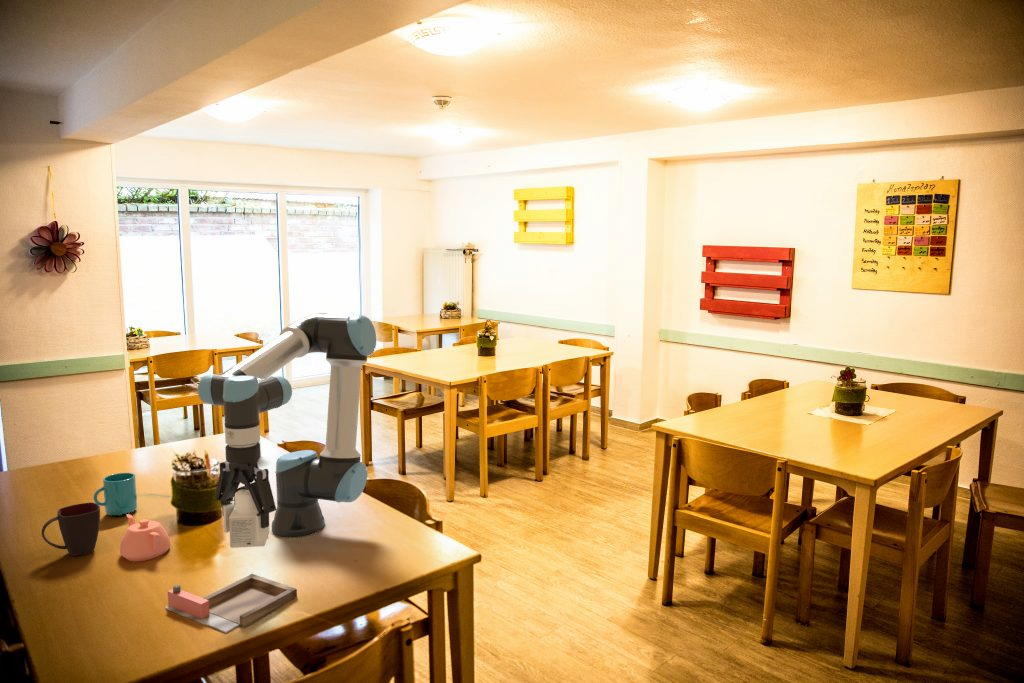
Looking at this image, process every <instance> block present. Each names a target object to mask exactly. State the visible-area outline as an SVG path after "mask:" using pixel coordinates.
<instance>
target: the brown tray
mask: <svg viewBox="0 0 1024 683" xmlns="http://www.w3.org/2000/svg"><path fill="white" fill-rule="evenodd" d="M297 597H298V589H297V588H295V587H292V586H289V585H287V584H284V583H281V582H277V581H274V580H271V579H268V578H266V577H263V576H260V575H257V574H254V573H251V574H249V575H247V576H245V577H243V578H240V579H239V580H237V581H234V582H233V583H230V584H228V585H226V586H224V587H223V588H220V589H218V590H216V591H215V592H212V593H210V594H208V595H206V596H204V597H203V598H204V599H206V600H209V613H210V615H208V616H206V617H205V618H203V619H201V618H199V617H196V616H194V615H191V614H189V613H186V612H184V611H181V610H179V609H176V608H174V607H171V606H169V605H167V606H165V607H164V609H165V610H167V611H170V612H172V613H175V614H177V615H179V616H182V617H184V618H187V619H190V620H192V621H194V622H198V623H199V624H202V625H204V626H207V627H209V628H211V629H214V630H217V631H219V632H221V633H224V634H227V633H229V632H231V631H232V630H235V629H237V628H238V627H241V628H243V629H245V628H247V627H249V626H251V625H253V624H254V623H256V622H258V621H260V620H262V619H263V618H265V617H266V616H269V615H271V614H272V613H273V612H275V611H277V610H279V609H280V608H282V607H283V606H284V605H286V604H288V603H289V602H291V601H292V600H294V599H296V598H297Z"/></svg>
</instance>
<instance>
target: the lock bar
mask: <svg viewBox="0 0 1024 683" xmlns="http://www.w3.org/2000/svg"><path fill="white" fill-rule="evenodd" d="M167 604H168V605H167V606H171V607H174V608H176V609H179V610H181V611H184V612H186V613H189V614H191V615H194V616H196V617H199V618H201V619H203V618H205V617H206V616H208V615H210V613H209V600H206V599H204V597H201V596H198V595H195V594H193V593H191V592H188V591H186V590H182V589H181V584H175V585H173V586H172V588H171V589H169V590H168V591H167Z"/></svg>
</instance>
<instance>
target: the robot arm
mask: <svg viewBox="0 0 1024 683" xmlns="http://www.w3.org/2000/svg"><path fill="white" fill-rule="evenodd" d="M376 346H377V333H376V328H375V326H374V324H373V322H372V320H371V319H370V318H369V317H367V316H366V315H361V314H355V313H328V312H327V313H326V312H324V313H322V312H319V313H314V314H310V315H308V316H305V317H303V318H300V319H298V320H297V321H294V322H293V323H291V324H289V325H287V326H286V327H284V328H283V329H282V330H281V331H280V333H279V335H278V336H277V337H275V338H274V339H272V340H271V341H270V342H268V343H266V344H265V345H264V346H262V347H260V348H259V349H257V350H256V351H254V352H252V354H250V355H249V356H246V357H245V358H244V359H243V360H241V361H239V362H237V363H236V364H235V365H233V366H232V367H230V368H228V369H227V370H226V371H224V372H223V373H220V374H217V373H213V374H206V375H204V376H202V378H201V379H200V380H199V382H198V385H197V394H198V398H199V400H200V401H201V402H202V403H204V404H207V405H212V406H216V407H218V406H221V407H222V406H223V412H224V436H225V438H224V442H225V444H227V445H226V446H225V461H222V462H220V463H219V474H218V480H217V484H216V489H215V490H216V491H215V496H214V499H215V501H216V502H220V504H221V508H222V509H221V510H222V512H221V513H222V517H223V532H224V533H230V526H229V517H230V515H231V513H232V511H233V509H234V492H235V490H236V489H238V488H239V486H240V484H242V485H243V486H245V487H246V488H247V489H249V492H250V494H251V496H252V499H253V501H254V503H255V506H256V508H257V511H258V514H257V515H256V531H257V542H259V543H260V542H262V541H264V540H266V539H267V540H269V535H268V526H269V527H270V513H273V512H274V516H273V517H274V518H273V520H272V523H271V533H272V534H273V535H274V536H276V537H279V538H284V539H296V538H302V537H303V538H304V537H308V536H311V535H314V534H317V533H319V532H320V531H321V530H322V529H323V528H324V527H325V526H326V525H325V524H326V523H325V517H324V515H323V512H322V508H321V506H320V503H319V500H323V501H330V502H336V503H353V502H355V501H357V500H358V499H359V498H360V496H361V494H362V493H363V492H364V489H365V487H366V484H367V480H368V468H367V465H366V464H365V463H363V462H362V461H361V454H360V453H359V451H358V450H357V448H356V447H357V438H358V437H357V435H358V434H357V433H358V420H359V407H360V406H359V405H360V392H361V391H360V390H361V388H360V387H361V376H362V374H361V373H362V367H363V366H364V365H365V364H366V363H368V356H371V355H373V354H374V352H375V349H376ZM311 353H324V354H326V356H325V360H326V361H327V362H328V363H329V364H330V376H329V387H328V388H329V392H328V403H327V404H328V405H327V406H328V407H327V420H326V432H325V433H326V434H325V448H324V449H323V450H322V451H321V452H320V453H319V456H318V452H317V451H315V450H311V449H305V450H297V451H291V452H289V453H286V454H283V455H281V456H279V457H278V458H277V460H276V464H275V472H274V473H275V482H276V483H275V484H276V502H275V498H274V495H273V492H272V491H273V490H272V487H271V484H270V479H269V473H270V472H269V468H264V469H262V468H259V465H258V461H259V460H260V458H261V456H260V447H261V443H260V444H259V443H258V442H259V441H260V442H261V431H260V430H261V429H260V419H259V415H260V414H261V413H265V412H267V411H271V410H274V409H278V408H280V407H282V406H284V405H286V404H288V402H289V401H290V400H291V399H292V395H293V388H292V385H291V383H290V381H289V380H288V379H287V378H285V377H283V376H281V375H277V376H272V375H274V374H275V373H276V372H278V371H279V370H281V369H282V368H284V367H285V366H287V365H288V364H289V363H290V362H291V361H293V360H295V359H299V358H303V357H305V356H306V355H307V354H311ZM262 507H263V509H262Z"/></svg>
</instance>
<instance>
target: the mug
mask: <svg viewBox="0 0 1024 683" xmlns="http://www.w3.org/2000/svg"><path fill="white" fill-rule="evenodd" d="M56 514H57V516H54V517H52V518H50V519H49V520H48V521H46V522H45V523H44V524H43V526H42V528H41V537H42V539H43V541H45V543H47V544H48V545H49V546H50V547H53V548H56V549H60V550H67V552H68V554H69V555H71V556H72V557H75V556H76V557H77V556H82V555H86V554H90V553H92V552H94V551H95V549H96V545H97V542H98V537H99V536H98V535H99V531H100V524H101V506H100V505H98V504H96V503H95V502H83V503H78V504H77V503H76V504H72V505H68V506H64V507H61V508H58V511H57V513H56ZM56 521H58V526H59V527H58V528H59V530H60V534H61V536H62V541H63V542H64V545H59V544H55V543H53V542H51V541H50V540H48V539H47V538H46V535H45V530H46V529H47V528H48V526H50V524H52V523H53V522H56Z"/></svg>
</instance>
